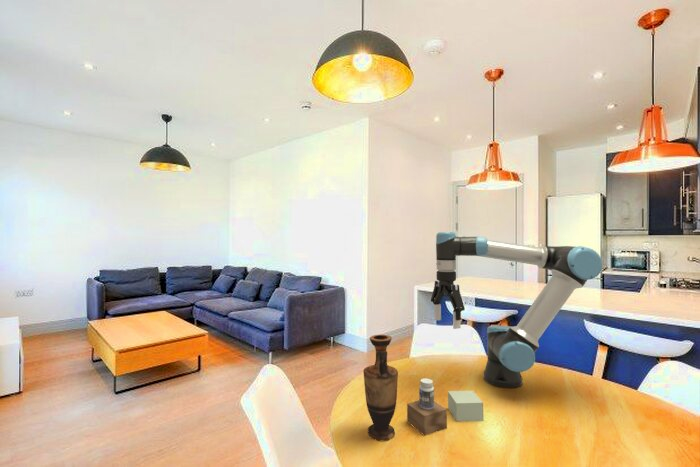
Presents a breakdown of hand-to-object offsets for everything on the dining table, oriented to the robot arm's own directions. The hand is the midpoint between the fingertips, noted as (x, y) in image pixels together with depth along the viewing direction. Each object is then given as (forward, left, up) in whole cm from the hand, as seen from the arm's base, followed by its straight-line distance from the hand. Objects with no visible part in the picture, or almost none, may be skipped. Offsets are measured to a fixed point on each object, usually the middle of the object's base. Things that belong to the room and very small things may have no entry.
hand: (446, 324), depth 136 cm
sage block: (+4, +17, -27) cm, 32 cm away
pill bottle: (+20, +19, -21) cm, 35 cm away
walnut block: (+20, +19, -27) cm, 38 cm away
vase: (+36, +19, -27) cm, 49 cm away
